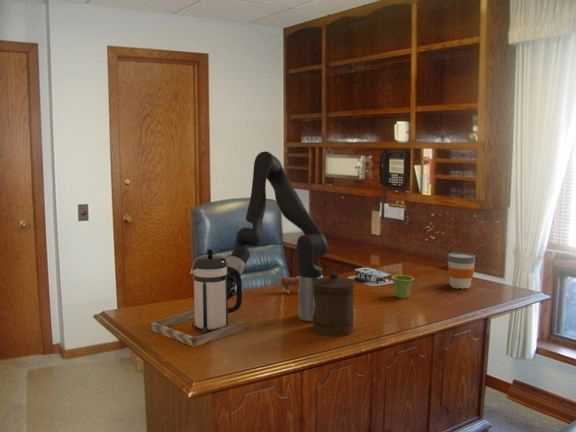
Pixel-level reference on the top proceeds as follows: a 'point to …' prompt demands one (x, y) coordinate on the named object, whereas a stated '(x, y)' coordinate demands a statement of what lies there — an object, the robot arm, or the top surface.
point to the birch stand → (162, 328)
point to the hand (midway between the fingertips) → (213, 308)
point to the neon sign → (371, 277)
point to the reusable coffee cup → (460, 269)
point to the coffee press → (213, 291)
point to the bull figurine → (290, 283)
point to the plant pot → (402, 285)
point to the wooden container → (333, 306)
